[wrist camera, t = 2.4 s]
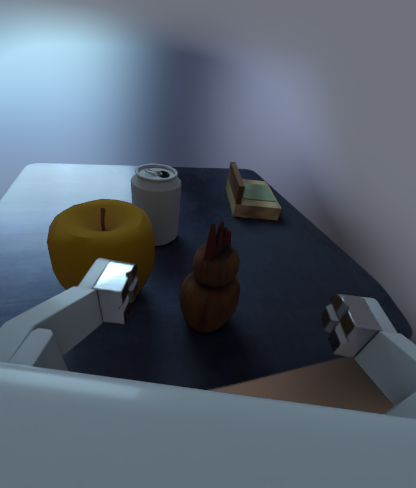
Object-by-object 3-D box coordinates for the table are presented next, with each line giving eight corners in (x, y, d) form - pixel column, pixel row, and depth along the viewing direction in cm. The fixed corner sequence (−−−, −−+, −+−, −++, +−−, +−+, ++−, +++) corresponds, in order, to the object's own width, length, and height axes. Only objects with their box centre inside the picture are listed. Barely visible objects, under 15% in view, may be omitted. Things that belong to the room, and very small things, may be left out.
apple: (134, 343, 27) (127, 254, 20) (43, 320, 28) (2, 226, 20) (166, 276, 36) (169, 196, 28) (96, 260, 37) (81, 178, 29)
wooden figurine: (192, 349, 28) (210, 243, 19) (170, 311, 31) (177, 207, 22) (239, 325, 31) (274, 225, 22) (215, 293, 35) (235, 197, 26)
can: (181, 247, 42) (186, 180, 35) (135, 250, 40) (130, 179, 33) (174, 223, 48) (177, 161, 40) (133, 224, 45) (129, 160, 38)
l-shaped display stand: (263, 192, 65) (270, 166, 61) (277, 220, 54) (287, 191, 50) (225, 188, 64) (230, 161, 60) (232, 216, 53) (239, 186, 48)
